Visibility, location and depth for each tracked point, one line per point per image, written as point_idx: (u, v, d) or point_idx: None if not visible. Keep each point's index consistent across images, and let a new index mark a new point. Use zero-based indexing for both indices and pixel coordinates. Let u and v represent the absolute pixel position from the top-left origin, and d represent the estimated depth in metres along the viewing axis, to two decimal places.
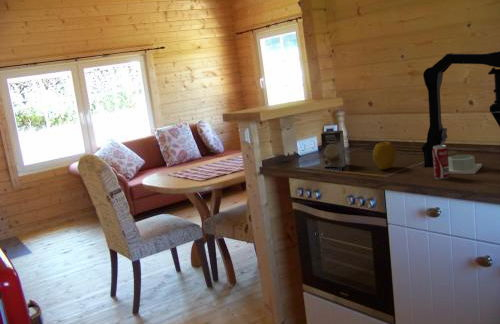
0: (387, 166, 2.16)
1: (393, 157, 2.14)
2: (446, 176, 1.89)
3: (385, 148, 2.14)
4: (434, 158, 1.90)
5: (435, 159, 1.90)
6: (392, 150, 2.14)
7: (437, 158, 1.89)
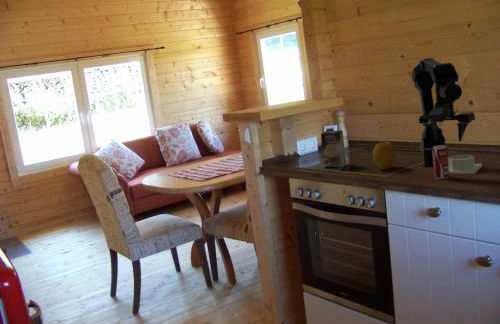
0: (387, 166, 2.16)
1: (393, 157, 2.14)
2: (446, 176, 1.89)
3: (385, 148, 2.14)
4: (434, 158, 1.90)
5: (435, 159, 1.90)
6: (392, 150, 2.14)
7: (437, 158, 1.89)
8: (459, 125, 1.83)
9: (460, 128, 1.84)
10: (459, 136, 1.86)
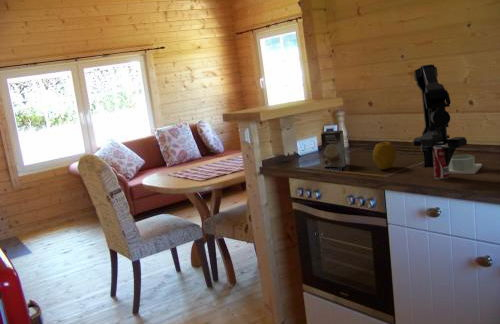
0: (387, 166, 2.16)
1: (393, 157, 2.14)
2: (446, 176, 1.89)
3: (385, 148, 2.14)
4: (434, 158, 1.90)
5: (435, 159, 1.90)
6: (392, 150, 2.14)
7: (437, 158, 1.89)
8: (445, 150, 1.85)
9: (447, 152, 1.86)
10: (446, 160, 1.88)
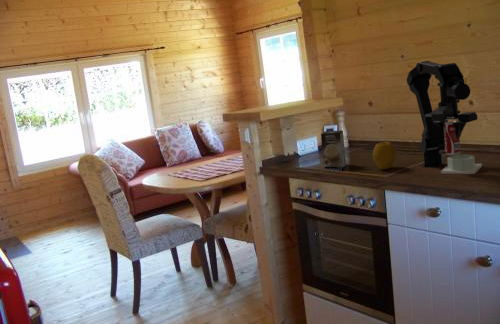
0: (387, 166, 2.16)
1: (393, 157, 2.14)
2: (457, 152, 1.92)
3: (385, 148, 2.14)
4: (445, 134, 1.93)
5: (446, 135, 1.93)
6: (392, 150, 2.14)
7: (448, 134, 1.92)
8: (455, 124, 1.89)
9: (457, 127, 1.90)
10: (456, 135, 1.91)
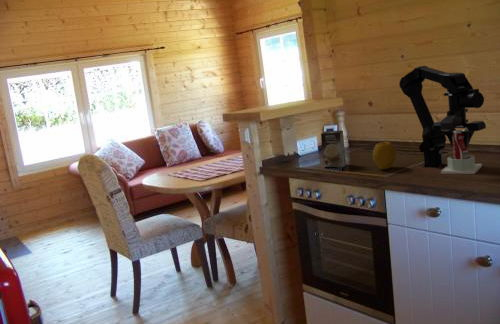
0: (387, 166, 2.16)
1: (393, 157, 2.14)
2: None
3: (385, 148, 2.14)
4: (454, 142, 1.96)
5: (454, 144, 1.96)
6: (392, 150, 2.14)
7: (457, 143, 1.95)
8: (464, 133, 1.92)
9: (465, 136, 1.93)
10: (465, 143, 1.95)
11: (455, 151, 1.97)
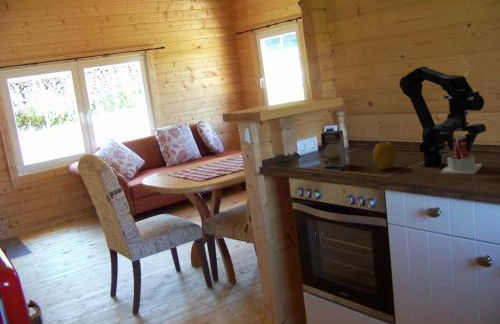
0: (387, 166, 2.16)
1: (393, 157, 2.14)
2: None
3: (385, 148, 2.14)
4: (455, 148, 1.96)
5: (456, 149, 1.96)
6: (392, 150, 2.14)
7: (458, 149, 1.95)
8: (467, 136, 1.91)
9: (468, 139, 1.92)
10: (468, 146, 1.94)
11: (456, 157, 1.97)
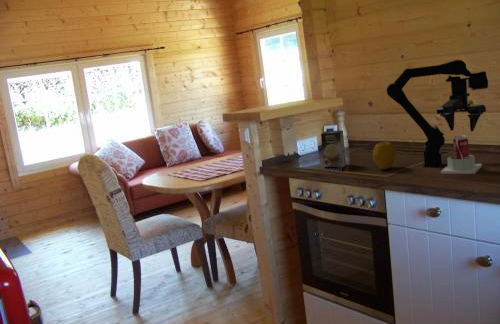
0: (387, 166, 2.16)
1: (393, 157, 2.14)
2: None
3: (385, 148, 2.14)
4: (455, 148, 1.96)
5: (456, 149, 1.96)
6: (392, 150, 2.14)
7: (458, 149, 1.95)
8: (470, 116, 2.00)
9: (471, 119, 2.01)
10: (471, 126, 2.03)
11: (456, 157, 1.97)
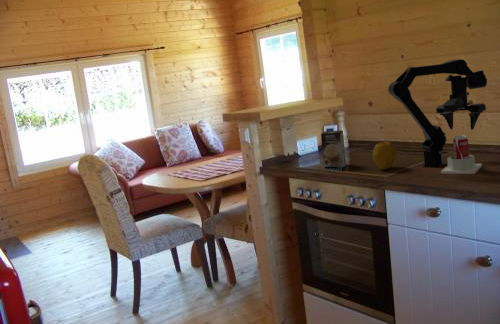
0: (387, 166, 2.16)
1: (393, 157, 2.14)
2: None
3: (385, 148, 2.14)
4: (455, 148, 1.96)
5: (456, 149, 1.96)
6: (392, 150, 2.14)
7: (458, 149, 1.95)
8: (470, 115, 2.04)
9: (472, 117, 2.05)
10: (471, 125, 2.06)
11: (456, 157, 1.97)
